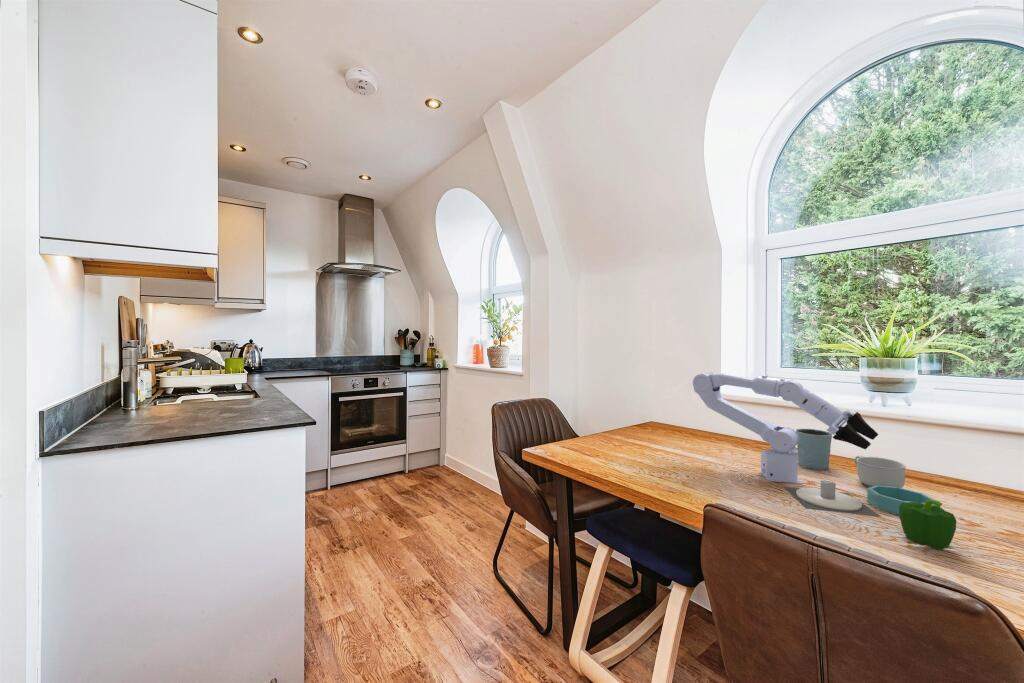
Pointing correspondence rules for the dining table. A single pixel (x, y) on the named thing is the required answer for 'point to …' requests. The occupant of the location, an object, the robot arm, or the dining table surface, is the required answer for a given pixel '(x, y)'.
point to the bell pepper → (927, 523)
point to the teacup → (880, 471)
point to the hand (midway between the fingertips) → (872, 441)
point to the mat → (863, 511)
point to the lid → (829, 497)
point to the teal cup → (814, 448)
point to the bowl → (893, 497)
